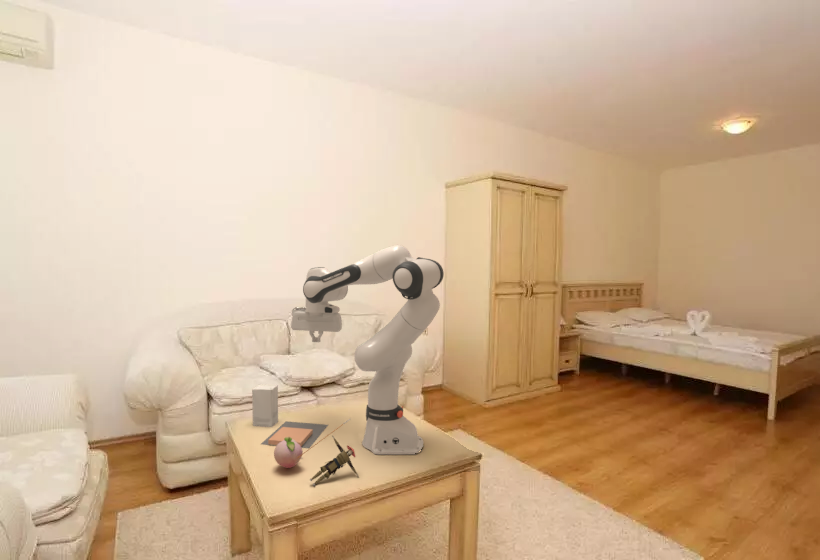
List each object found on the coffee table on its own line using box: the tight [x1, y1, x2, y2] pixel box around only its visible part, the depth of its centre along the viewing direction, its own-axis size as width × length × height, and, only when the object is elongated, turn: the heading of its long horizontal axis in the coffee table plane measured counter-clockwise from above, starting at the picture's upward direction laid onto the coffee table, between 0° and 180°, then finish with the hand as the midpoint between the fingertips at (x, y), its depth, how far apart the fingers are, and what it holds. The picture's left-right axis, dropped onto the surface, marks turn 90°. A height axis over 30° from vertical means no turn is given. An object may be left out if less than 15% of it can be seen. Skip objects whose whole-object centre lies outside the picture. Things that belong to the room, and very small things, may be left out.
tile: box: [268, 427, 313, 447], centre depth 154 cm, size 12×2×12 cm
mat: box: [260, 421, 329, 449], centre depth 160 cm, size 18×22×1 cm
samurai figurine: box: [297, 418, 360, 487], centre depth 131 cm, size 16×10×20 cm
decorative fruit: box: [273, 437, 304, 469], centre depth 134 cm, size 9×8×10 cm
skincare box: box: [251, 384, 279, 428], centre depth 168 cm, size 8×7×16 cm
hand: (316, 342), depth 169 cm, fingers closed
